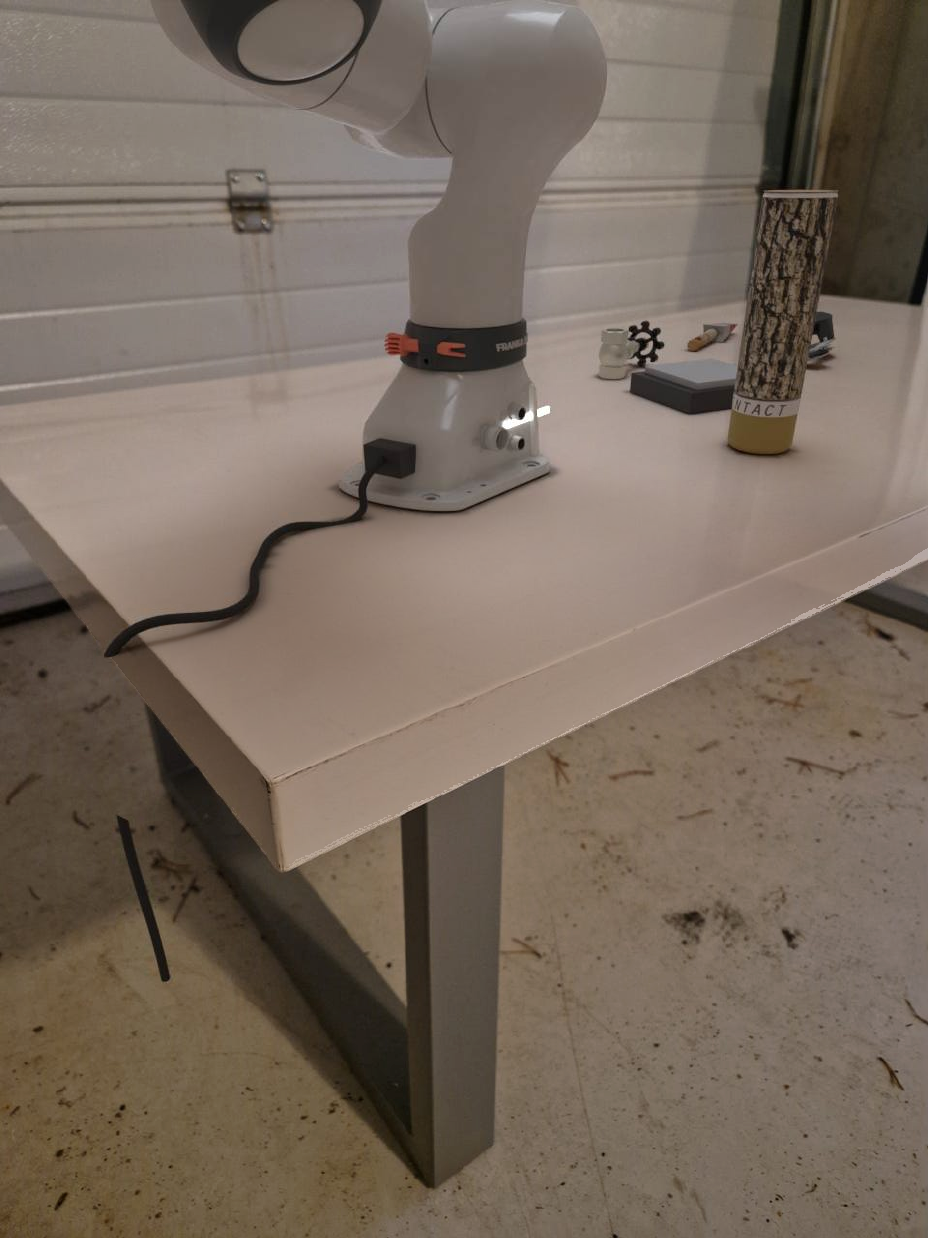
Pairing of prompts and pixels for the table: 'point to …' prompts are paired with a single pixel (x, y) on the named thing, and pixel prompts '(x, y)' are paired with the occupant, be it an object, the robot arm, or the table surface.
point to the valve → (626, 349)
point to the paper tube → (780, 317)
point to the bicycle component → (822, 336)
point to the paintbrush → (711, 334)
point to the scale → (688, 385)
